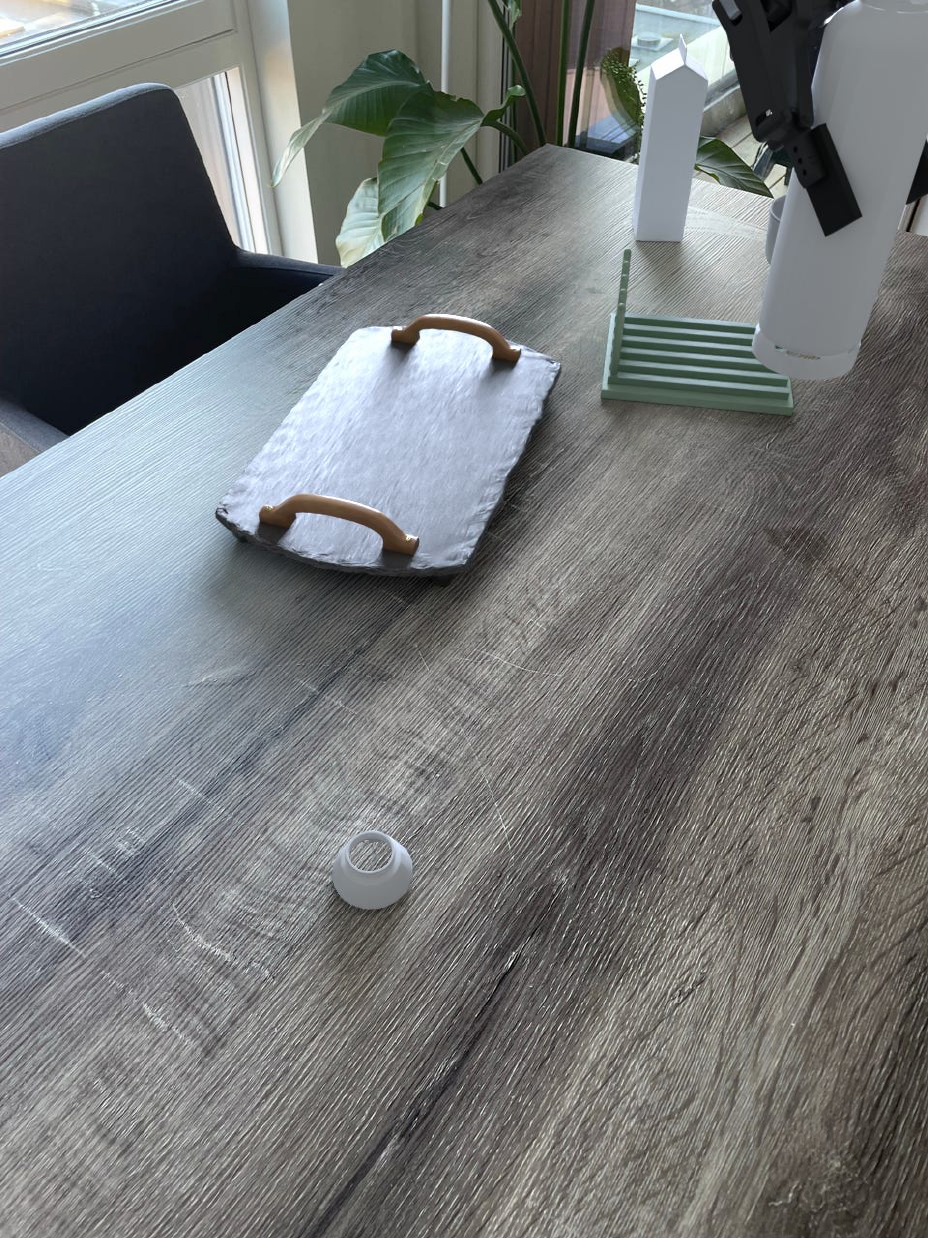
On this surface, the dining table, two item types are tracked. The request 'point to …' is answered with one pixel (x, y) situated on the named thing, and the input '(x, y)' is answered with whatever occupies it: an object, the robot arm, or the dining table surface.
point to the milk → (669, 146)
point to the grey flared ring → (372, 875)
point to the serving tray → (396, 451)
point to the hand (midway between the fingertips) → (885, 210)
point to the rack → (688, 362)
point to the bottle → (878, 174)
